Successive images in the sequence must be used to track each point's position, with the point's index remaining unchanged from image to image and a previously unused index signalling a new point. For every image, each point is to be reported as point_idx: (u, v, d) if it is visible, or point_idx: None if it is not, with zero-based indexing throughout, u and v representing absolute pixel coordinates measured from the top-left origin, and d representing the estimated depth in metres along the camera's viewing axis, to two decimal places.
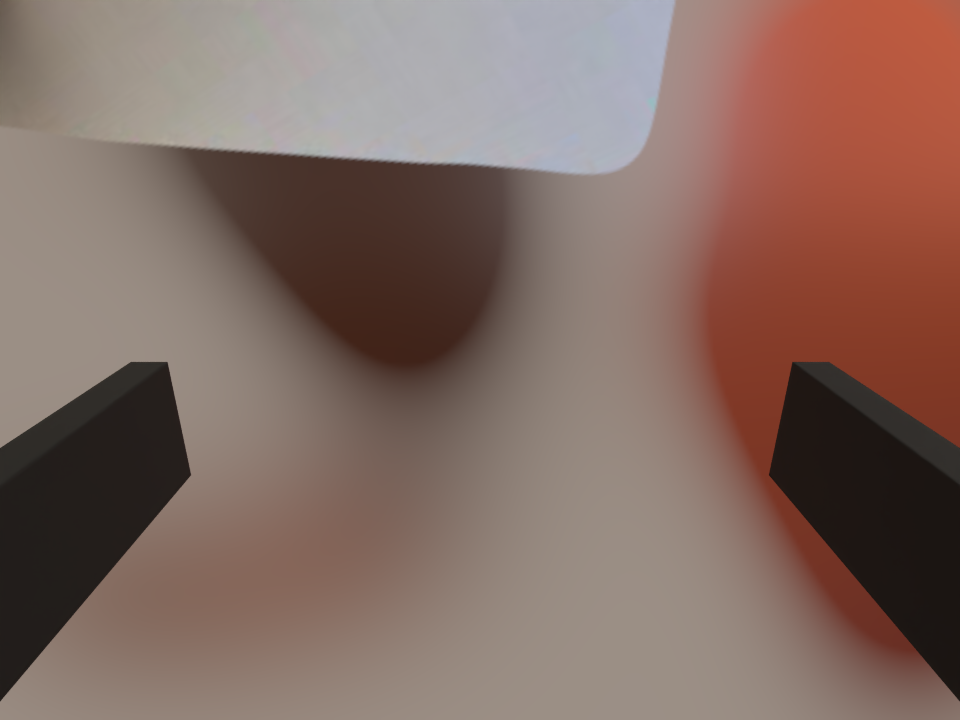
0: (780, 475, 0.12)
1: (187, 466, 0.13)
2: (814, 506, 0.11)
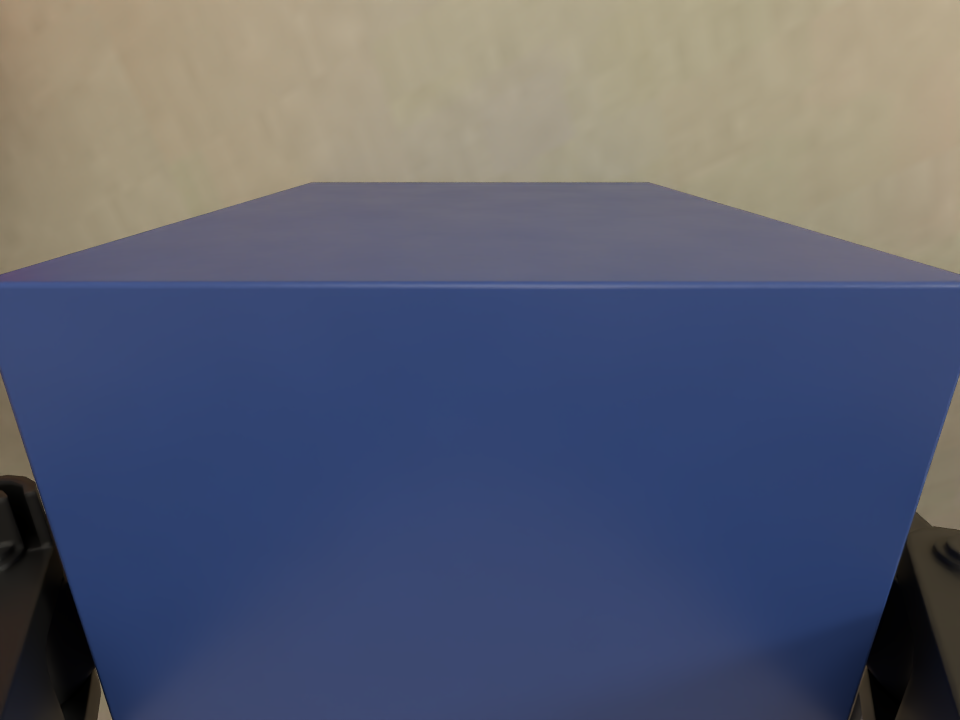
0: None
1: None
2: None
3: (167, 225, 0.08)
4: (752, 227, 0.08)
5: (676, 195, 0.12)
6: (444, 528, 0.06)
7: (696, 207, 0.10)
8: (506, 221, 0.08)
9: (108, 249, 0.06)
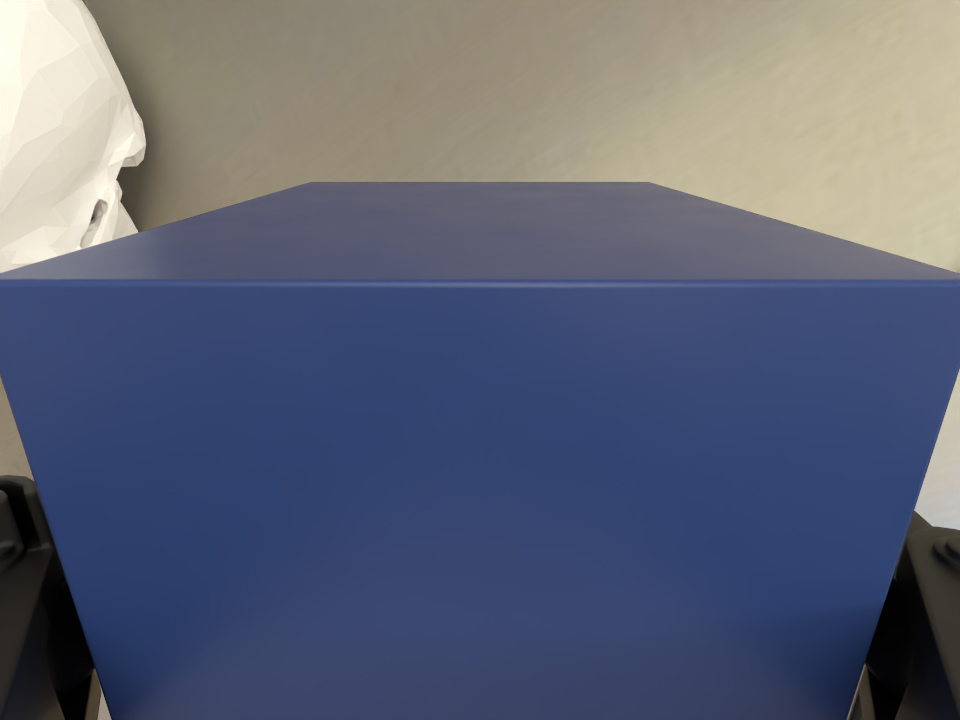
0: None
1: None
2: None
3: (166, 224, 0.08)
4: (751, 226, 0.08)
5: (675, 195, 0.12)
6: (443, 527, 0.06)
7: (695, 206, 0.10)
8: (505, 220, 0.08)
9: (107, 248, 0.06)
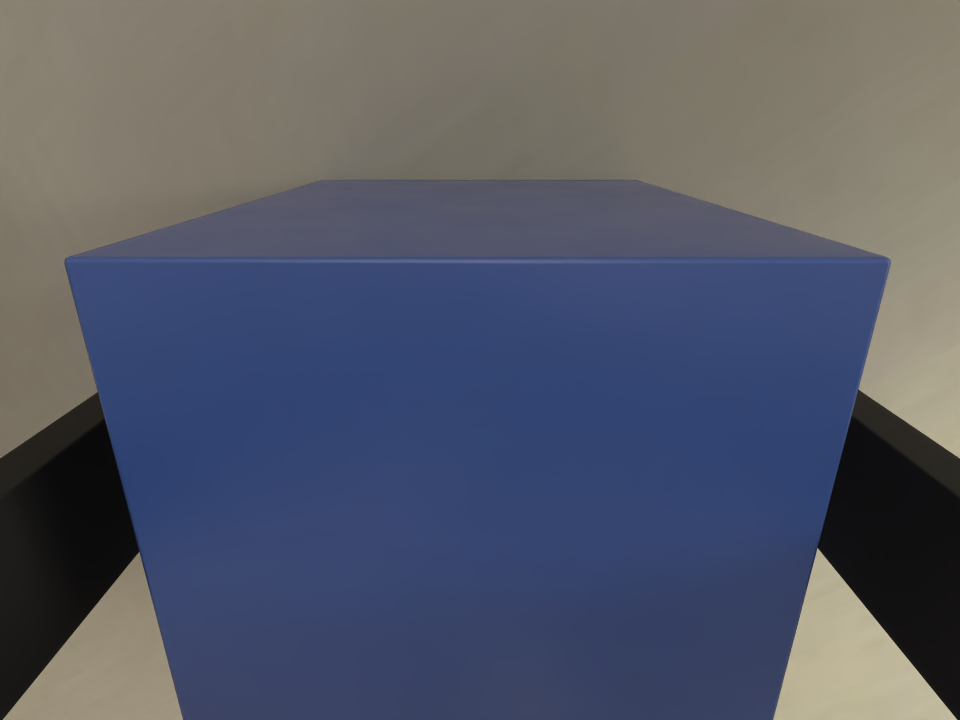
0: None
1: None
2: None
3: (204, 216, 0.09)
4: (716, 217, 0.09)
5: (658, 191, 0.13)
6: (447, 468, 0.07)
7: (672, 201, 0.11)
8: (501, 212, 0.09)
9: (162, 234, 0.07)
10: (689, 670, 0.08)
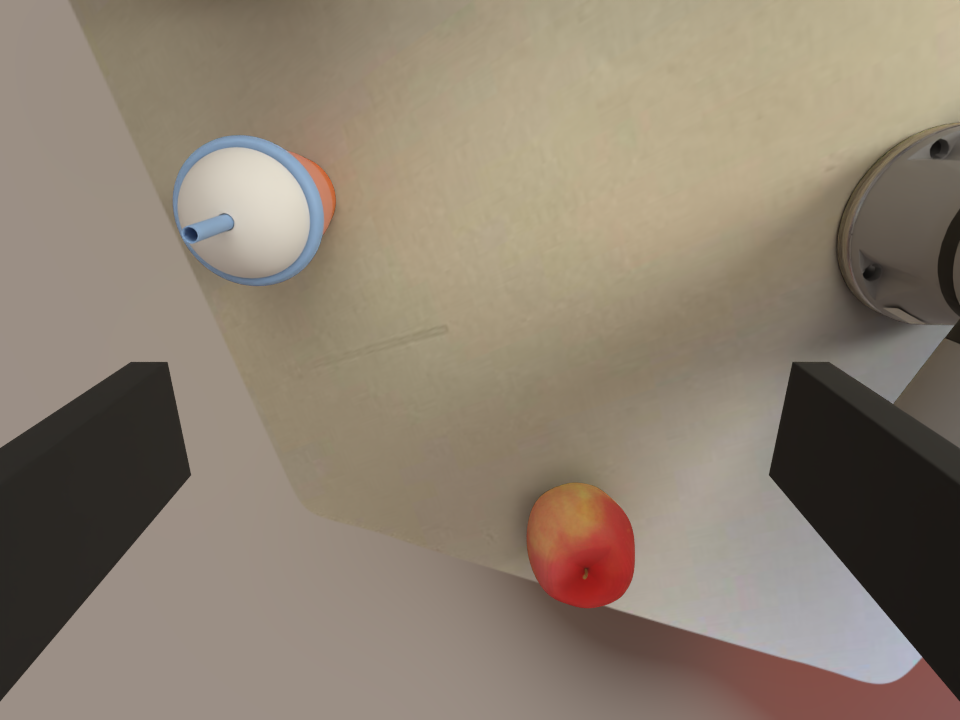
0: (780, 475, 0.12)
1: (187, 466, 0.13)
2: (814, 506, 0.11)
3: None
4: None
5: None
6: None
7: None
8: None
9: None
10: None
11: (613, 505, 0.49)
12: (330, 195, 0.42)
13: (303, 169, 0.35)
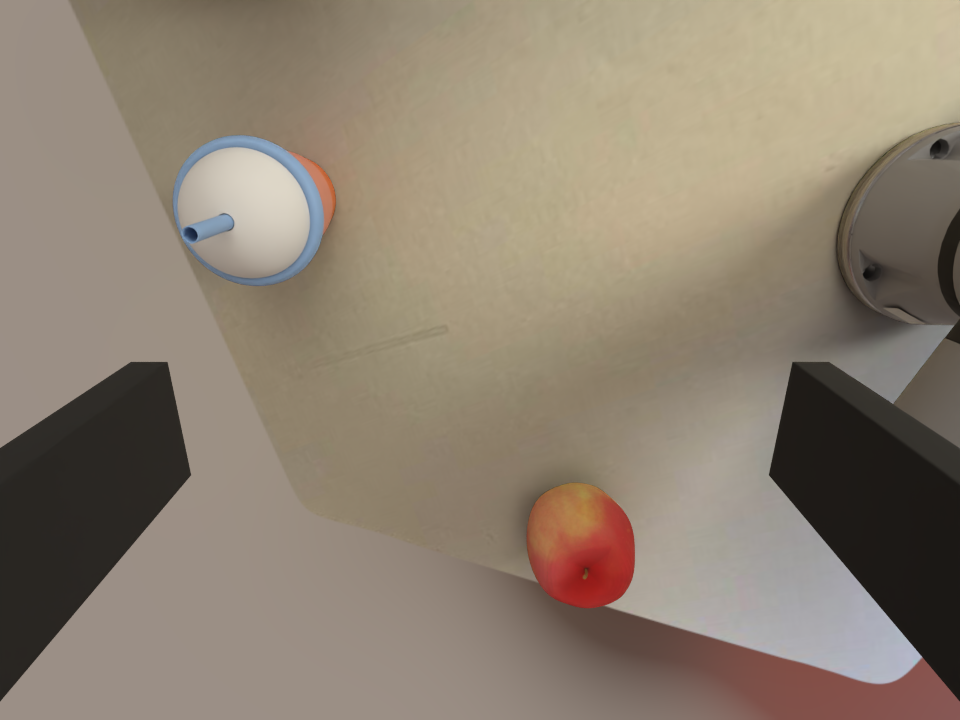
0: (780, 475, 0.12)
1: (187, 466, 0.13)
2: (814, 506, 0.11)
3: None
4: None
5: None
6: None
7: None
8: None
9: None
10: None
11: (613, 505, 0.49)
12: (330, 195, 0.42)
13: (303, 169, 0.35)
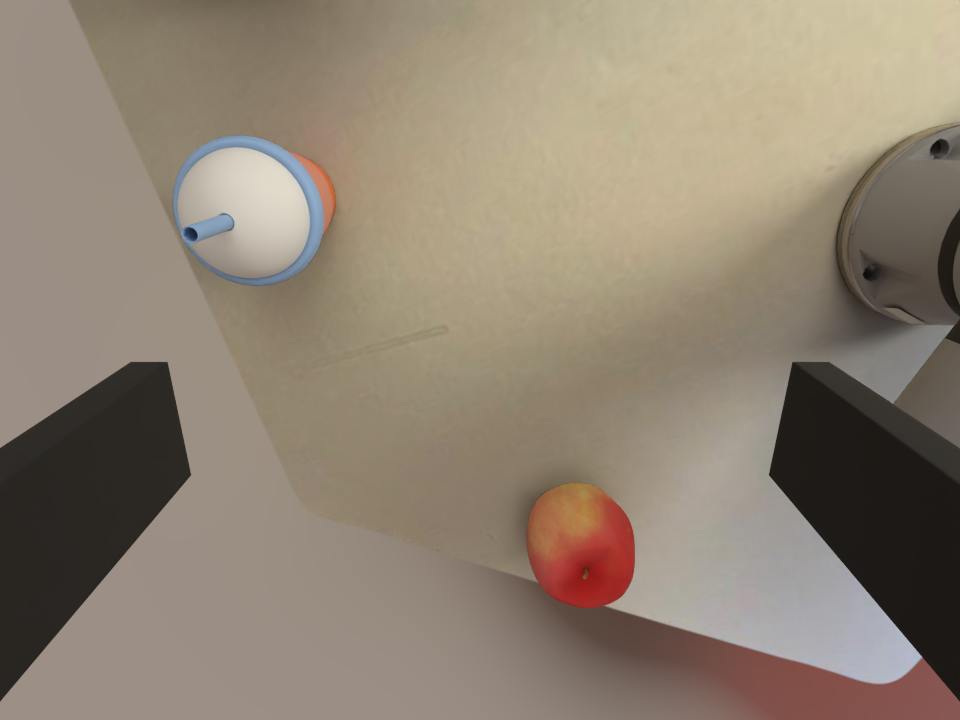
0: (780, 475, 0.12)
1: (187, 466, 0.13)
2: (814, 506, 0.11)
3: None
4: None
5: None
6: None
7: None
8: None
9: None
10: None
11: (613, 505, 0.49)
12: (330, 195, 0.42)
13: (303, 169, 0.35)
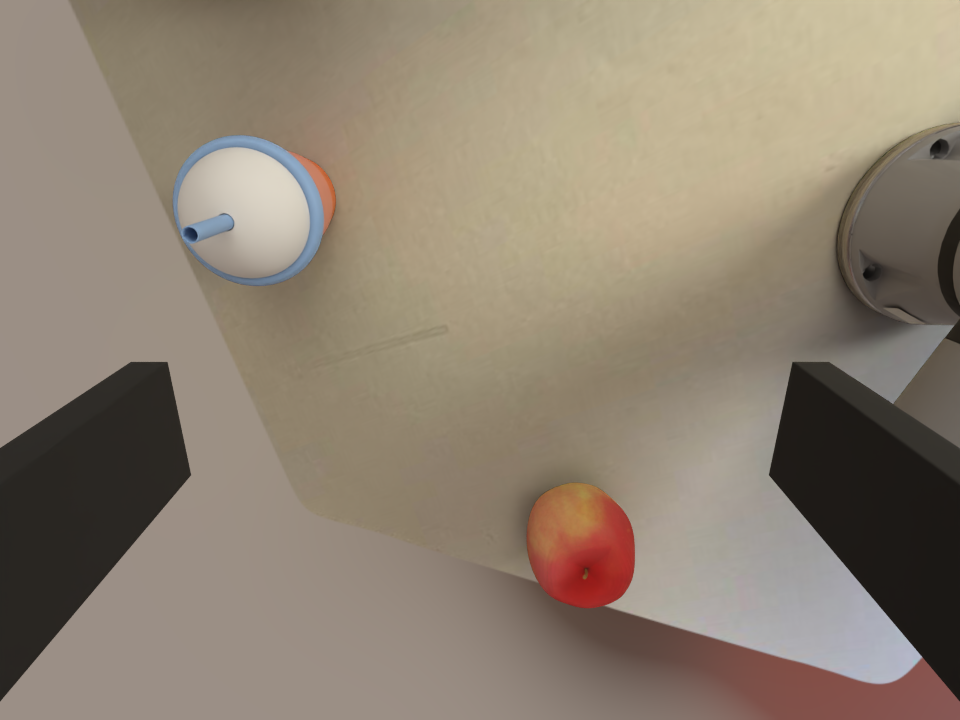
0: (780, 475, 0.12)
1: (187, 466, 0.13)
2: (814, 506, 0.11)
3: None
4: None
5: None
6: None
7: None
8: None
9: None
10: None
11: (613, 505, 0.49)
12: (330, 195, 0.42)
13: (303, 169, 0.35)
